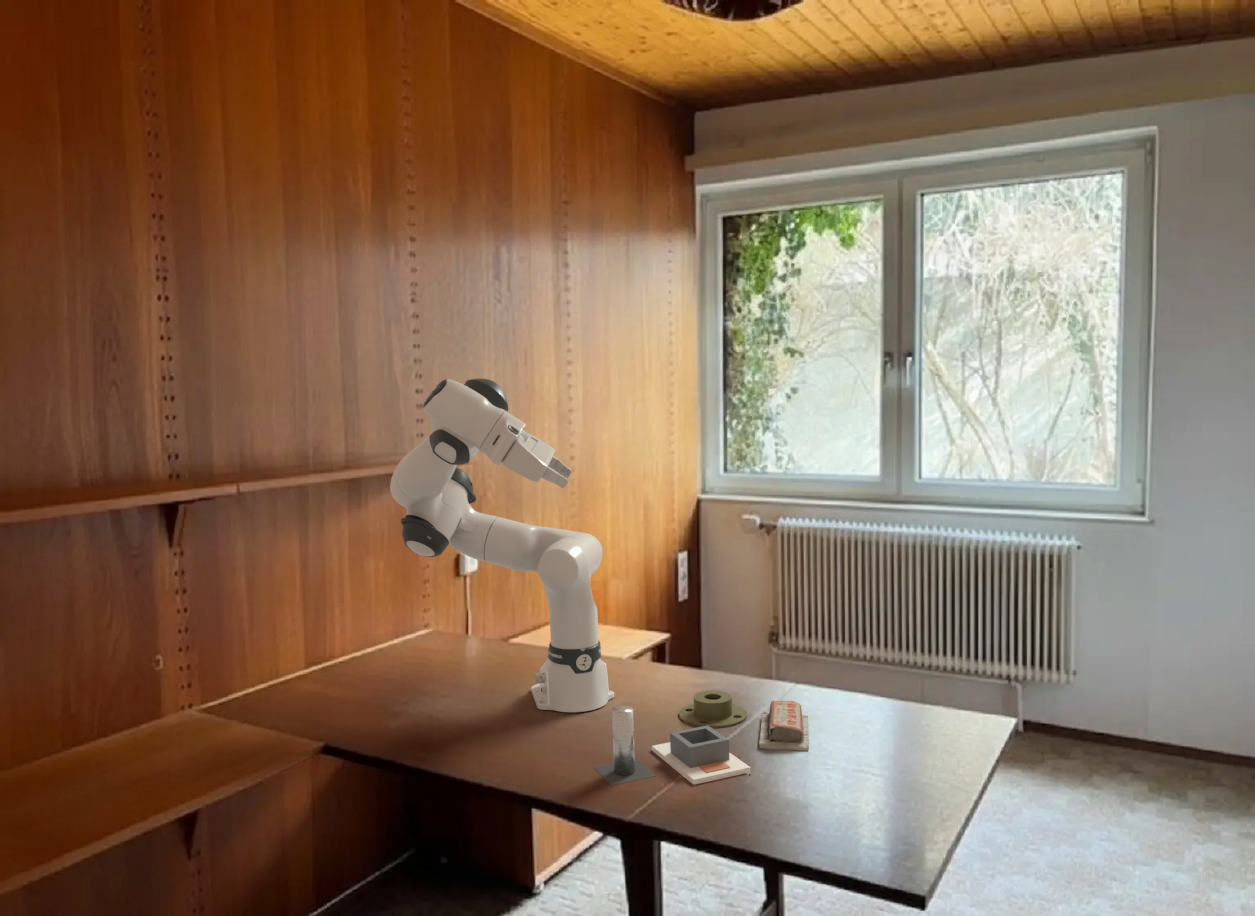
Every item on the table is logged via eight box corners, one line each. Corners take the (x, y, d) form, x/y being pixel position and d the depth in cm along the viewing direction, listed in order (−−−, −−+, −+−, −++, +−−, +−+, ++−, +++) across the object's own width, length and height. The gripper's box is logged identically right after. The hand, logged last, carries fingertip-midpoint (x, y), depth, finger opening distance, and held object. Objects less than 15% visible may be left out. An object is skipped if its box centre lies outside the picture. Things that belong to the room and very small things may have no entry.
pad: (593, 770, 180) (593, 767, 180) (636, 761, 184) (636, 758, 184) (611, 788, 172) (611, 785, 172) (656, 779, 176) (656, 775, 176)
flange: (693, 682, 218) (668, 703, 204) (755, 690, 211) (734, 712, 198) (693, 702, 218) (668, 724, 205) (756, 710, 212) (734, 733, 198)
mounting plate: (651, 753, 188) (651, 726, 187) (705, 742, 193) (704, 716, 192) (693, 787, 171) (693, 758, 171) (750, 775, 176) (750, 746, 176)
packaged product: (761, 697, 206) (807, 699, 204) (761, 719, 206) (808, 721, 205) (758, 727, 188) (809, 729, 186) (758, 751, 189) (809, 753, 187)
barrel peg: (610, 769, 179) (608, 708, 178) (629, 765, 180) (628, 704, 180) (618, 777, 175) (617, 714, 174) (638, 773, 177) (636, 711, 176)
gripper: (504, 444, 185) (563, 482, 187) (488, 462, 165) (555, 504, 166) (521, 418, 184) (580, 456, 186) (507, 432, 164) (574, 475, 166)
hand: (568, 479), depth 176 cm, fingers open, 8 cm apart
